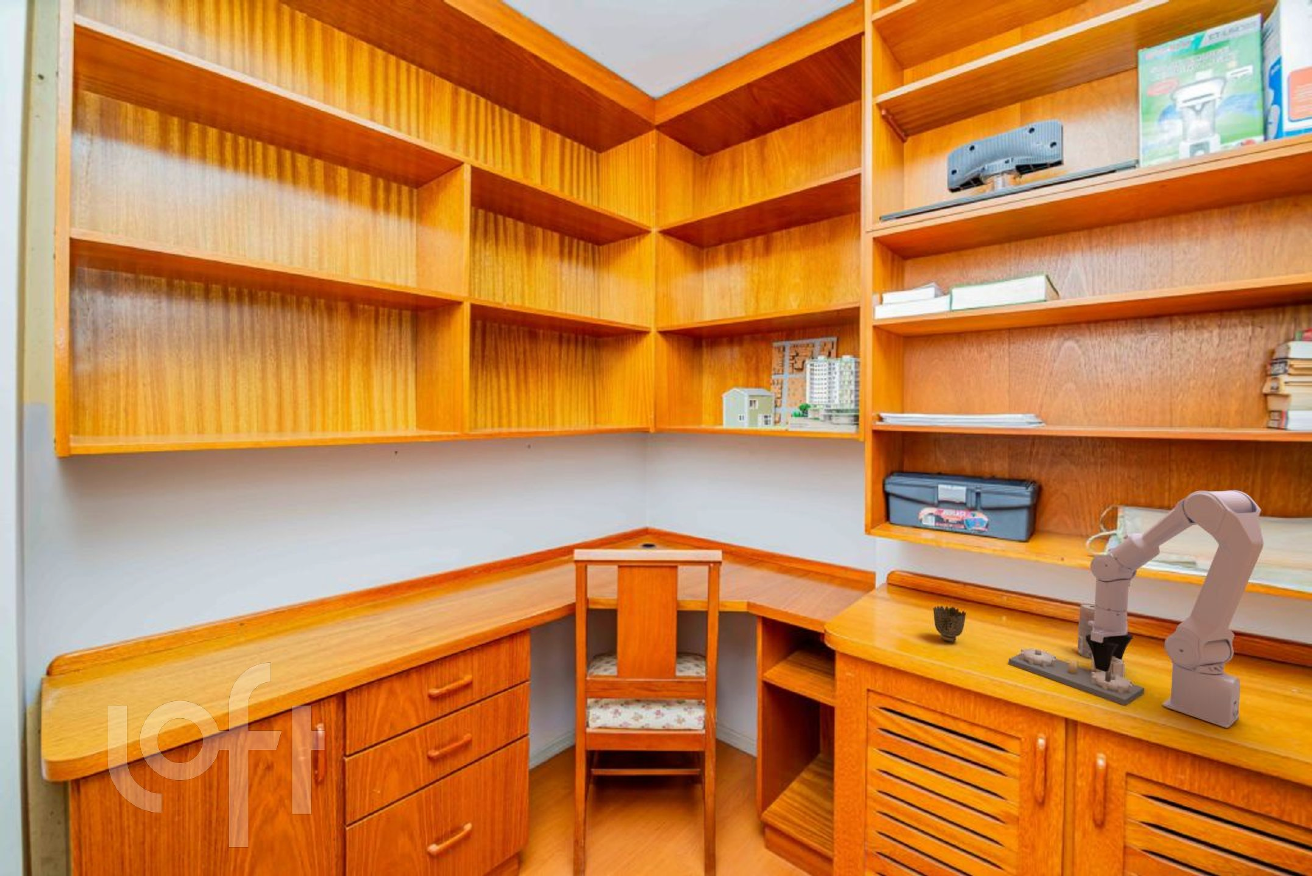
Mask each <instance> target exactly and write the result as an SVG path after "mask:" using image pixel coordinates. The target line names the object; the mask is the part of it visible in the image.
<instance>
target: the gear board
mask: <svg viewBox="0 0 1312 876" xmlns="http://www.w3.org/2000/svg"><path fill="white" fill-rule="evenodd" d="M1007 662H1008V665H1010V666H1013V667H1016V668H1018V667H1019V668H1020V669H1022V670H1025V671H1028V672H1029V673H1032V674H1035V675H1039V676H1040V677H1045V678H1047V679H1049V678H1050V679H1049V680H1052V681H1055V682H1058V683H1061V684H1063V685H1067V686H1069V687H1072V688H1074V689H1077V690H1080V691H1083V692H1086V693H1088V694H1090V695H1091V694H1092V695H1094V696H1097V697H1099V698H1102V699H1105V700H1108V701H1110V702H1114V703H1116V704H1119V705H1122V706H1127V705H1129V704H1130V703H1132V702H1133V701H1135V700H1136V699H1138V698H1139V697H1141V696H1142V695H1144V694H1145V687H1144V686H1143V687H1142V686H1140V685H1137V684H1133V683H1132V680H1130V679H1127V678H1125V677H1124V678H1123V677H1121V676H1120V675H1117V674H1116V675H1115V674H1111V673H1110V672H1107V671H1106V672H1104V671H1101V672H1095V671H1092V669H1090V668H1085V667H1083V666H1079V662H1078V660H1075V659H1068V662H1067V661H1063V660H1061V659H1059V658H1057V657H1056V655H1055V654H1054V655H1053V654H1051V653H1048V652H1047V651H1046V650H1039V649H1035V648H1033V647H1032V648H1031V647H1029V648H1026V649H1025V648H1021V649H1020V653H1019V654H1017V655H1015V656H1011V658H1008V661H1007Z"/></svg>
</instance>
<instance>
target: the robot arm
mask: <svg viewBox="0 0 1312 876" xmlns="http://www.w3.org/2000/svg"><path fill="white" fill-rule="evenodd" d="M1261 512H1262V509H1261V508H1260V507H1259V505H1258V504H1257V503H1256V501H1254V499H1252V497H1251V496H1250V495H1248V494H1247V493H1245V492H1243V491H1240V490H1235V489H1232V490H1231V489H1230V490H1229V489H1228V490H1222V491H1221V490H1220V491H1216V490H1215V491H1214V490H1213V491H1208V490H1197V491H1194V492H1192V493H1190V494H1188V495H1187V496H1186V498H1183V499H1181V500H1179V501H1178V502H1176V504H1175V507H1173V508H1172V509H1171V510H1170V511H1168V513H1166V515H1164V516H1163V517H1162V518H1161V519H1160V520H1158V521H1157V522H1155V523H1154V524H1153V525H1152V526H1151V527H1150V528H1149V529H1147V531H1145V532H1144V533H1136V532H1135V533H1130V534H1125V535H1124V536H1123V537H1122V538H1123V539H1124V540H1123V541H1121V542H1120V543H1119V544H1117V545H1116V546H1114V547H1110V548H1109V549H1107V551H1108V552H1107V553H1106V554H1096V555H1095V556H1094V557H1093V558H1092V560H1091V561H1090V566H1089V567H1090V570H1091V571H1090V572H1091V573H1092V575H1093V576H1094V577H1095V596H1094V605H1095V613H1094V621H1089V622H1088V625H1090V626H1092V627H1093V631H1091V635H1087V636H1086V641H1087V643H1088V644H1089V646H1090V649H1091V651H1092V654H1093V658H1094V663H1095V667H1096V669H1099V670H1102V671H1105V672H1106V671H1107V672H1108V670H1109V668H1110V664H1111V659H1112V656H1115V657H1116V658H1118V659H1120V660H1123V657H1124V654H1125V652H1126V649H1127V647H1128V645H1129V644H1130V642H1131V641H1132V640H1133V639H1134V635H1133V634H1131V633H1128V628H1129V627H1128V623H1129V622H1128V620H1127V619H1128V604H1129V603H1128V602H1129V587H1130V586H1131V581H1132V580H1133V579H1134V578H1135V577H1136V575H1137V572H1138V570H1139V569H1140V568H1142V567H1143V566H1144V565H1147V563H1149V562H1150V561H1152V560H1153V559H1155V558H1156V557H1157V556H1158V555H1160V550H1161V549H1160V546H1161V545H1163V544H1165V543H1166V542H1168V541H1169V540H1171V539H1173V538H1174V537H1176V536H1178V535H1179V534H1180V533H1181V534H1182V532H1184V531H1186V530H1187V529H1189V528H1191V527H1193V526H1195V525H1196V526H1199V527H1201V528H1202V529H1203V530H1204V531H1205V532H1207V533H1208V534H1209V535H1210V536H1211V537H1212V538H1213V539H1214V541H1216V543H1217V544H1218V547H1217V549H1216V552H1215V554H1214V557H1213V559H1212V561H1211V564H1210V565H1209V569H1208V571H1207V573H1206V576H1205V579H1204V581H1203V584H1202V585H1201V588H1200V591H1199V593H1198V596H1197V598H1196V601H1195V603H1194V606H1193V609H1192V611H1191V613H1190V615H1189V616H1188V617H1187V618H1186V619H1184V620H1183V621H1181V623H1179V624H1177V627H1176V629H1175V631H1174V632H1173V633H1172V634H1171V633H1170V635H1168V636H1167V637H1166V639H1165V641H1164V650H1165V653H1166V654H1167V656H1168V658H1169V659H1170V660H1171V664H1172V668H1171V669H1172V671H1171V684H1170V685H1171V690H1170V697H1169V698H1168V699H1167V700H1165V701H1164V702H1163V703H1162V706H1163V707H1164V708H1167V709H1170V710H1173V711H1176V712H1180V713H1182V714H1185V715H1187V716H1191V717H1194V718H1197V719H1199V720H1202V721H1205V722H1208V723H1211V724H1214V725H1217V726H1220V727H1222V728H1225V729H1226V728H1227V729H1228V728H1230V726H1232V725H1233V724H1234V723H1235V722H1236V721H1237V720H1238V719H1239V718H1240V715H1239V713H1240V712H1239V711H1240V698H1241V697H1240V696H1241V682H1240V678H1238V677H1236V676H1234V675H1231V674H1228V673H1226V672H1224V670H1225V664H1227V663H1228V662H1230V661H1231V660H1232V659H1233V656H1234V653H1235V652H1234V647H1233V641H1234V638H1235V634H1234V632H1233V631H1232V630H1231V629H1229V626H1230V625H1231V623H1232V620H1233V617H1234V615H1235V613H1236V610H1237V608H1238V605H1239V604H1240V601H1241V600H1242V596H1243V594H1244V592H1245V590H1246V588H1247V585H1248V582H1249V581H1250V578H1251V576H1252V574H1253V571H1254V569H1255V567H1256V564H1257V562H1258V560H1259V558H1260V555H1261V553H1262V551H1263V548H1264V538H1263V536H1262V534H1263V533H1262V530H1261V525H1260V521H1259V517H1260V514H1261Z"/></svg>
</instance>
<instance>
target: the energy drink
mask: <svg viewBox="0 0 1312 876" xmlns="http://www.w3.org/2000/svg"><path fill="white" fill-rule="evenodd" d="M1094 613H1095V603H1094V604H1092V603H1082V604H1080V606H1079V612H1078V615H1079V616H1078V635H1077V636H1078V637H1077V638H1078V639H1077V653H1078V655H1080V656H1081V657H1084V658H1087V659H1091V660H1092V651H1091V649H1090V646H1089V644H1088V643H1087V641H1086V636H1087V635H1091V631H1093V627H1092V626H1090V625H1088V622H1089V621H1094Z"/></svg>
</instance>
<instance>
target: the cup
mask: <svg viewBox="0 0 1312 876" xmlns="http://www.w3.org/2000/svg"><path fill="white" fill-rule="evenodd" d="M932 609H933V621H934V626H935V630H936V631H937V632H938V633H939V634H940V639H941V641H942V642H945V643H952V644H953V643H956V642H957V637H959V636H960V635H961V634H962V633H963V631H964V626H965V621H966V616H967V612H965V610H962V611H959V607H958V608H955V606H950V607H949V606H948V605H946V606H945V607H943V606H942V605H940V606H939V605H937V606H934V607H932Z"/></svg>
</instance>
